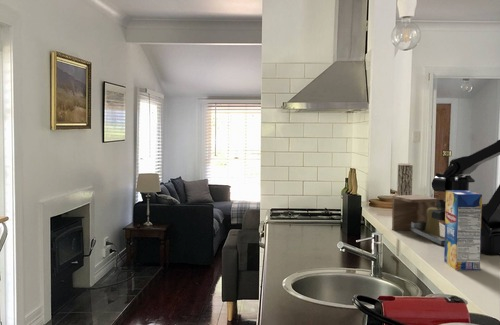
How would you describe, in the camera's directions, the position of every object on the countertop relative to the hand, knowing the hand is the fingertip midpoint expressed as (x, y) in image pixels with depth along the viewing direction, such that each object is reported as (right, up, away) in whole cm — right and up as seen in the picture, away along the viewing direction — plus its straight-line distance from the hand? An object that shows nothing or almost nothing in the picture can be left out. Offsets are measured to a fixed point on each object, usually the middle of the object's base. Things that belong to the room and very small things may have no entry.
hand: (458, 238), depth 189 cm
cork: (-4, -2, +16) cm, 17 cm away
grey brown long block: (-4, -1, +8) cm, 9 cm away
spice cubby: (-8, -1, +26) cm, 27 cm away
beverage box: (-10, -4, -28) cm, 30 cm away
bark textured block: (0, +1, +68) cm, 68 cm away
